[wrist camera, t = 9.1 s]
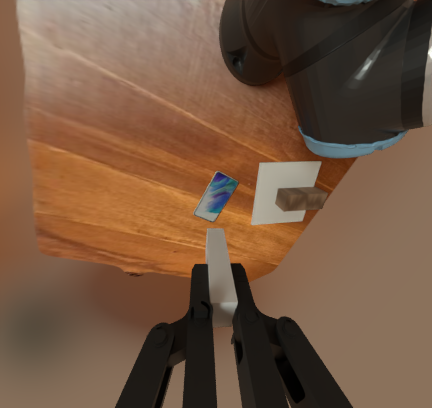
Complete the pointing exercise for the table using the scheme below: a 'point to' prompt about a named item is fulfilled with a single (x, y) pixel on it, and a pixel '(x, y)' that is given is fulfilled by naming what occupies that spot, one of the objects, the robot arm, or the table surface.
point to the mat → (281, 178)
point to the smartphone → (215, 196)
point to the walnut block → (300, 198)
